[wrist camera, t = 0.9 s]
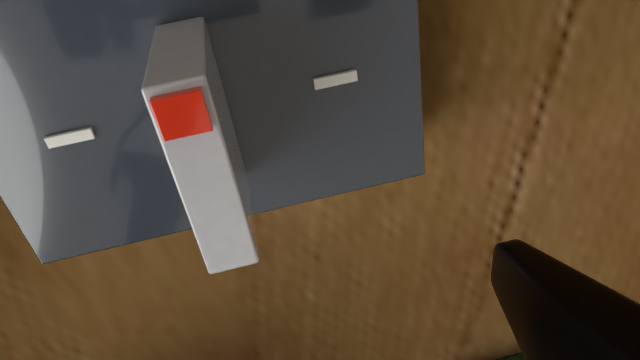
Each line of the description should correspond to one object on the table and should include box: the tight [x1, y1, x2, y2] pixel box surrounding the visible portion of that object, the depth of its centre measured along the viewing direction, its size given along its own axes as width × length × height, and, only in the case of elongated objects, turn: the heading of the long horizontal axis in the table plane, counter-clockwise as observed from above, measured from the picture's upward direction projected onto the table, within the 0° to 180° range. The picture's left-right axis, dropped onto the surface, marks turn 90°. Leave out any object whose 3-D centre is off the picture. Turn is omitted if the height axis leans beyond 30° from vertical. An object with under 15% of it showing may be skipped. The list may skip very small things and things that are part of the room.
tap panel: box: [0, 0, 425, 264], centre depth 18 cm, size 14×9×3 cm, turn 98°
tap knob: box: [141, 17, 259, 274], centre depth 14 cm, size 6×1×5 cm, turn 9°
